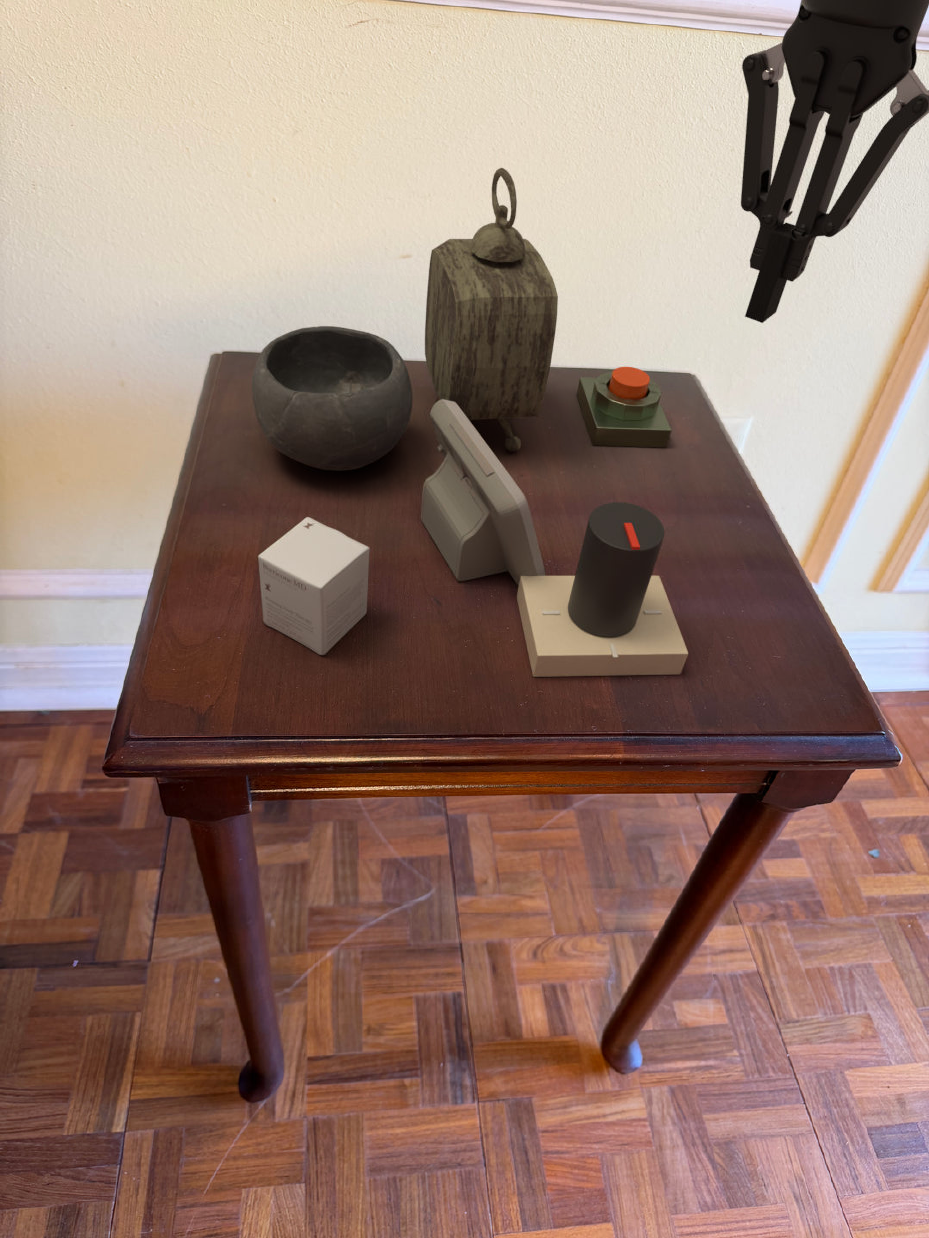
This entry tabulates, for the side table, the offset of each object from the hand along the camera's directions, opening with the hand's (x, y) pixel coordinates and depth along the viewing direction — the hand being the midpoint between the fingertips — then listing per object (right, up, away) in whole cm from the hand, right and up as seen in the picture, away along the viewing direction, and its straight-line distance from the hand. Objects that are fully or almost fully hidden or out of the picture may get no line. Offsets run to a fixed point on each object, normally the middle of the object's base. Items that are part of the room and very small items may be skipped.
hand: (760, 314), depth 70 cm
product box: (-35, -24, +2) cm, 43 cm away
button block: (-6, -2, +27) cm, 28 cm away
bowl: (-36, -7, +18) cm, 41 cm away
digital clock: (-22, -17, +11) cm, 30 cm away
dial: (-12, -23, +2) cm, 26 cm away
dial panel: (-12, -25, +3) cm, 28 cm away
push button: (-6, 0, +25) cm, 25 cm away
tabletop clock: (-22, -3, +24) cm, 33 cm away
